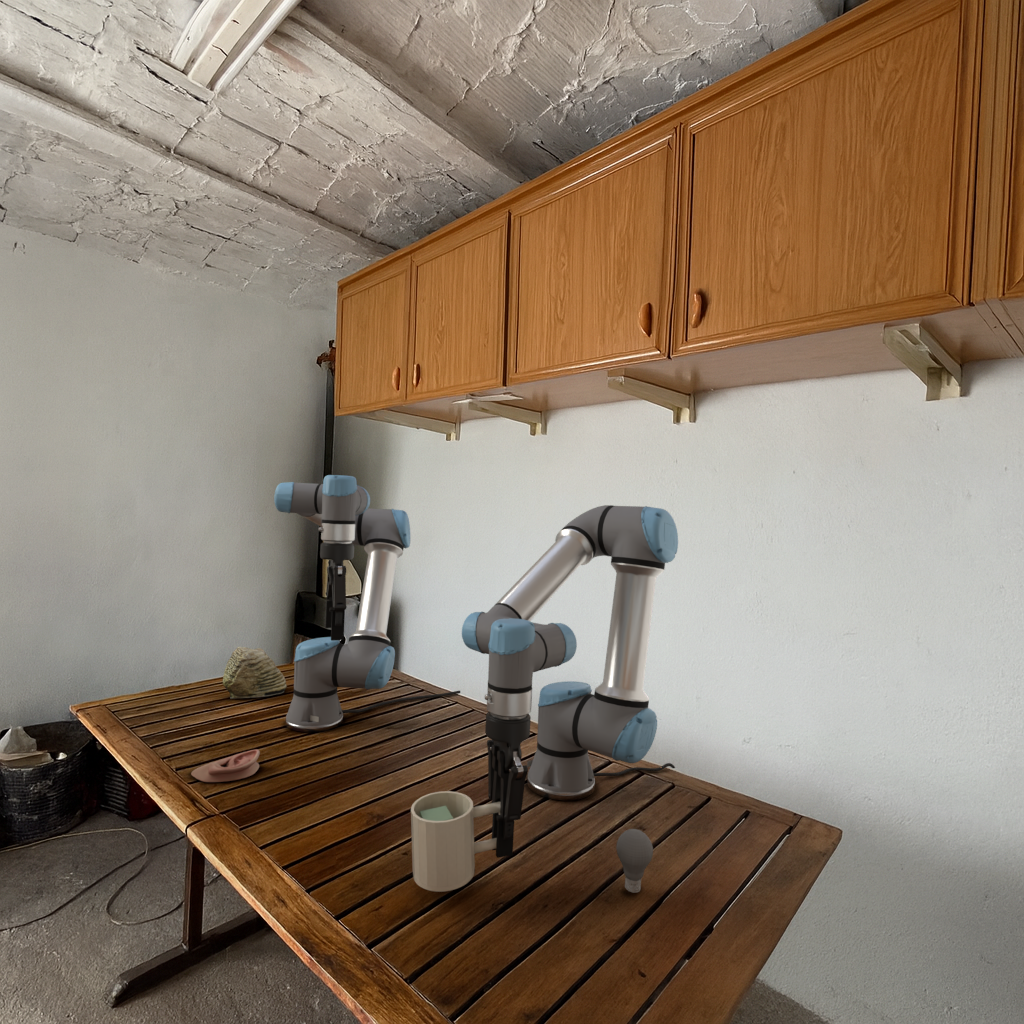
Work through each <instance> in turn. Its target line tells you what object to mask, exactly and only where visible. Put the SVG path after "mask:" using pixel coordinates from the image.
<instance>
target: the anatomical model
mask: <svg viewBox="0 0 1024 1024" xmlns="http://www.w3.org/2000/svg"><path fill="white" fill-rule="evenodd" d="M260 754H261V752H260V749H257V748H256V749H251V750H247V751H243V752H240V753H236V754H234V755H231V756H228V757H225V758H222V759H219V760H216V761H211V762H209V763H206V764H204V765H201V766H198V767H197V768H195V769H193V770H192V771H191V773H190V775H191V776H192V777H193V778H194V779H196V780H198V781H201V782H203V783H221V782H230V781H231V782H233V781H237V780H241V779H246V778H248V777H250V776H253V775H254V774H256V772H257V771H258V770H259V768H260V764H259V762H258V759H259V757H260Z"/></svg>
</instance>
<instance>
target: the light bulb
mask: <svg viewBox="0 0 1024 1024" xmlns="http://www.w3.org/2000/svg"><path fill="white" fill-rule="evenodd" d="M615 849H616V854H617V857H618V859H619V861H620V863H621V865H622V867H623V873H624V874H623V875H624V876H625V878H624V888H625V890H627V891H628V892H630V893H634V894H635V893H639V892H640V891H641V889H642V887H641V886H642V879H643V877H644V875H645V871H646V868H647V867H648V866H649V864H650V863H651V861H652V859H653V855H654V847H653V843H652V841H651V838H649V836H648V835H647V834H646V833H645V832H643V831H642V830H641V829H636V828H629V829H627V830H625V831H623V832H622V833H621V834H620V835H619V837H618V839H617V841H616V847H615Z"/></svg>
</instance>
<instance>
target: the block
mask: <svg viewBox="0 0 1024 1024" xmlns="http://www.w3.org/2000/svg"><path fill="white" fill-rule="evenodd" d="M420 818H423V819H426V820H431V821H446V820H450V819H453V817H452V815H451V813H450V812H449V810H448V808H447V806H442V807H437V808H432V809H428V810H423V811H420Z"/></svg>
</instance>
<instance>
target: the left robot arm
mask: <svg viewBox="0 0 1024 1024" xmlns="http://www.w3.org/2000/svg"><path fill="white" fill-rule="evenodd" d="M273 498H274V499H273V501H274V506H275V509H276V510H277V511H278V512H279V513H285V514H286V513H287V514H297V515H299V516H302V517H303V518H305V519H307V520H308V521H310V522H312V523H314V524H315V525H317V526H319V527H318V532H321V533H320V534H321V535H320V539H321V541H322V542H321V543H320V548H319V549H320V551H319V556H320V557H319V558H320V559H322V560H325V561H327V564H328V566H326V574H327V575H326V590H325V599H326V601H325V602H326V603H325V626H324V627H325V629H329V628H330V636H324V637H315V638H312V639H307V640H304V641H302V642H300V643H298V644H297V645H296V648H295V655H294V659H293V662H294V672H293V695H292V696H293V697H292V699H291V702H290V704H289V708H288V711H287V713H286V715H285V726H286V728H287V729H289V730H291V731H294V732H295V731H296V732H301V733H316V732H325V731H329V730H332V729H335V728H337V727H339V726H340V725H342V723H343V722H344V714H359V713H364V712H367V711H370V710H372V709H375V708H379V707H382V706H386V705H390V704H394V703H401V702H406V701H415V700H423V699H433V698H441V697H447V696H453V695H458V694H461V690H455V691H449V692H443V693H434V694H426V695H417V696H408V697H401V698H396V699H391V700H386V701H382V702H378V703H375V704H372V705H369V706H367V707H363V708H359V709H342V706H341V702H340V699H339V695H338V688H346V689H347V688H348V689H364V690H365V689H366V690H380V689H383V688H384V687H385V686H386V685H387V684H388V683H389V681H390V678H391V677H392V676H391V675H392V673H393V670H394V666H395V657H396V650H395V647H393V646H391V640H390V638H389V637H388V636H387V631H388V624H389V617H390V611H391V602H392V596H393V591H394V589H393V588H394V581H395V575H396V569H397V568H396V567H397V561H398V558H400V557H402V556H403V554H404V549H408V548H410V547H411V526H410V525H411V524H410V519H409V518H410V517H409V514H408V513H407V512H406V510H403V509H394V508H370V505H371V496H370V493H369V491H367V489H365V488H364V487H363V486H360V485H359V484H357V478H356V477H355V476H352V475H343V474H342V475H339V474H328V475H325V476H324V478H323V482H322V483H314V482H313V483H312V482H311V483H310V482H294V481H289V482H288V481H287V482H280V483H278V484H277V486H276V488H275V490H274V497H273ZM355 546H360V547H361V546H362V547H363V549H364V551H365V553H366V554H367V559H366V567H365V573H364V579H363V585H362V591H361V595H360V596H361V597H360V602H359V603H360V604H359V608H358V609H359V610H358V614H357V615H358V616H357V620H356V627H355V632H353V633H352V634H350V636H348V641H347V644H346V643H345V644H344V643H341V641H344V640H345V619H346V618H345V617H346V610H347V607H348V606H347V583H346V582H347V577H346V575H347V566H346V565H344V561H351V560H353V559H354V557H355Z"/></svg>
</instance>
